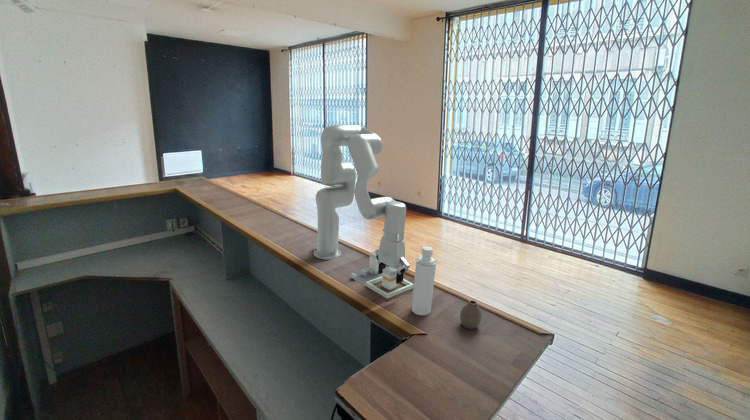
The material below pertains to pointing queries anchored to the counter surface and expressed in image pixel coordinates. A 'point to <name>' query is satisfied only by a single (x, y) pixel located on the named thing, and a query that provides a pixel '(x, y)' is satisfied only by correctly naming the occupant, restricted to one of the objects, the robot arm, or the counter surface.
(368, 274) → the block
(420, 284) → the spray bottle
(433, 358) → the counter surface
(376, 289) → the tray
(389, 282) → the block
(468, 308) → the vase
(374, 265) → the block
